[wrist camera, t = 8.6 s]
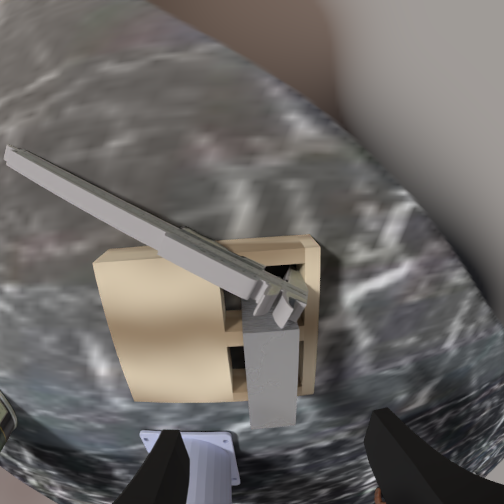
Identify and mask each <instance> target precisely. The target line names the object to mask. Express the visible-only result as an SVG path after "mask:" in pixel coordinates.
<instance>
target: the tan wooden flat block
mask: <svg viewBox="0 0 504 504" xmlns="http://www.w3.org/2000/svg"><path fill="white" fill-rule="evenodd" d="M216 242H217V243H219V244H221V245H222V246H224V247H225V248H227V249H228V250H229V251H231V252H233V253H235V254H237V255H239V256H244V257H247V258H249V259H252V260H254V261H256V262H259V263H261V264H263V265H266V266H274V265H287V264H296V268H297V269H298V270H299V272H300V274H301V276H302V278H303V280H304V282H305V284H306V286H307V288H308V298H307V305H306V306H305V308H304V310H303V312H302V313H301V315H300V317H299V318H298V320H297V323H298V326H299V329H300V331H299V362H298V386H297V396H302V395H309V394H314V384H315V371H316V357H317V341H318V321H319V296H320V246H319V245H318V243H317V242H316V241H315V240H314V239H313V238H312V237H311V235H310V234H307V235H292V236H277V237H262V238H247V239H233V240H219V241H216ZM157 254H158V251H157V250H155V249H154V248H152V247H150V246H141V247H129V248H117V249H109V250H108V251H106V252H105V253H104V254H103V255H102V256H100V257H99V258H98V259H97V260H96V261H94V262H93V267H94V272H95V276H96V281H97V285H98V289H99V293H100V297H101V301H102V304H103V308H104V312H105V315H106V319H107V322H108V326H109V329H110V333H111V336H112V339H113V342H114V345H115V349H116V352H117V355H118V358H119V361H120V364H121V366H122V369H123V372H124V375H125V378H126V380H127V383H128V386H129V388H130V391H131V394H132V396H133V399H134V401H141V402H167V403H208V402H235V401H248V391H247V379H246V368H241V369H233V367H232V359H231V351H230V347H233V346H244V343H243V328H242V310H229V311H226V307H225V297H224V289H222V288H220V287H218V286H216V285H214V284H212V283H211V282H209V281H207V280H205V279H203V278H201V277H199V276H197V275H195V274H193V273H191V272H189V271H187V270H185V269H183V268H182V267H180V266H178V265H176V264H174V263H172V262H170V261H168V260H166V259H164V258H163V257H161V256H159V255H157Z"/></svg>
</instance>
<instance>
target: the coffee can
mask: <svg viewBox="0 0 504 504" xmlns="http://www.w3.org/2000/svg"><path fill="white" fill-rule="evenodd" d="M16 426H17V418H16V415H15V412H14V410H13V408H12V407H11V405H10V403H9V402H8V400H7V399H6V398H5V396H4V395H3V394H2V392H1V391H0V452H1V450H2V449H3V447H4V445H5V443H6V442H7V440H8V438H9V437H10V435H11V433H12V431H13V430H14V429H15V428H16Z"/></svg>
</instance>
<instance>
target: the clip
mask: <svg viewBox="0 0 504 504" xmlns="http://www.w3.org/2000/svg"><path fill="white" fill-rule="evenodd" d="M277 277H279V278H281V276H277ZM281 279H282V278H281ZM241 303H242V328H243V343H244V356H245V368H246V379H247V391H248V402H249V414H250V425H251V429H261V428H273V427H283V426H292V425H295V422H296V405H297V386H298V362H299V331H300V329H299V326H298V323H297V322H293V321H291V320H289V319H288V320H287V322H286V323H285V325H284V327H283V328H282V329H281V328H280V327H279V326H278V325H277V323H276V322H275V320H274V317H273V315H272V312H273V309H272V308H271V309H270V310H269V312H268V313H266V314H263V315H259V316H254V315H253V313H254V310H255V308H256V306H257V303H256V300H255V299H252V298H249V299H248V300H245V299H243V298H241Z"/></svg>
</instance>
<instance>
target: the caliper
mask: <svg viewBox="0 0 504 504" xmlns="http://www.w3.org/2000/svg"><path fill="white" fill-rule="evenodd" d="M4 160H5V161H7V163H6V165H7V166H9V167H11V168H12V169H14V170H16V171H17V172H19V173H21V174H22V175H24V176H25V177H27V178H29V179H30V180H32V181H34V182H35V183H37V184H39V185H40V186H42V187H44V188H46V189H47V190H49V191H51V192H52V193H54V194H56V195H58V196H59V197H61V198H63V199H64V200H66V201H68V202H70V203H71V204H73V205H75V206H77V207H78V208H80V209H82V210H84V211H86V212H87V213H89V214H91V215H93V216H94V217H96V218H98V219H100V220H102V221H103V222H105V223H107V224H109V225H111V226H113V227H114V228H116V229H118V230H120V231H122V232H124V233H125V234H127V235H129V236H131V237H133V238H135V239H137V240H138V241H140V242H142V243H144V244H146V245H148V246H150V247H152V248H154V249H155V250H157V251H158V254H157V255H159V256H161V257H163V258H164V259H166V260H168V261H170V262H172V263H174V264H176V265H178V266H180V267H182V268H183V269H185V270H187V271H189V272H191V273H193V274H195V275H197V276H199V277H201V278H203V279H205V280H207V281H209V282H211V283H212V284H214V285H216V286H218V287H220V288H222V289H224V290H226V291H228V292H230V293H232V294H234V295H236V296H238V297H240V298H243V299H245V300H248V299H249V298H252V299H255V300H256V303H257V306H256V308H255V310H254V313H253V315H254V316H259V315H263V314H266V313H268V312H269V310H270V309H271V308H272V309H273V312H272V315H273V317H274V320H275V322H276V323H277V325H278V326H279V327H280V328H281V329H282V328H283V327H284V325H285V323H286V322H287V320H288V319H289V320H291V321H293V322H297V320H298V318H299V317H300V315H301V313H302V312H303V310H304V308H305V306H306V305H307V298H308V288H307V286H306V284H305V282H304V280H303V278H302V276H301V274H300V272H299V270H298V269H297V268H295V267H294V266H292V265H290V266H289V268H288V270H287V272H286V274H285V275H284V277H283V279H281V278H279V277H277V276H275V275H273V274H271V273H269V272H267V271H265V268H266V265H263V264H261V263H259V262H256V261H254V260H252V259H249V258H247V257H244V256H239V255H237V254H235V253H233V252H231V251H229V250H228V249H227V248H225V247H224V246H222V245H221V244H219V243H217V242H216V241H214V240H213V239H210V238H208V237H205V236H203V235H201V234H199V233H197V232H196V231H194V230H192V229H190V228H188V227H186V226H183V227H180V228H178V227H176V226H174V225H172V224H170V223H168V222H166V221H164V220H162V219H160V218H158V217H156V216H154V215H152V214H150V213H148V212H146V211H144V210H142V209H140V208H138V207H136V206H134V205H132V204H130V203H128V202H126V201H124V200H122V199H120V198H118V197H116V196H114V195H112V194H110V193H108V192H106V191H104V190H102V189H100V188H98V187H96V186H94V185H92V184H90V183H88V182H86V181H85V180H83V179H81V178H79V177H77V176H75V175H73V174H71V173H69V172H67V171H65V170H63V169H61V168H59V167H57V166H56V165H54V164H52V163H50V162H48V161H46V160H44V159H42V158H40V157H38V156H36V155H34V154H32V153H31V152H29V151H27V150H22V149H18V148H16V147H14V146H12V145H10V144H7V147H6V151H5V155H4Z"/></svg>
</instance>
